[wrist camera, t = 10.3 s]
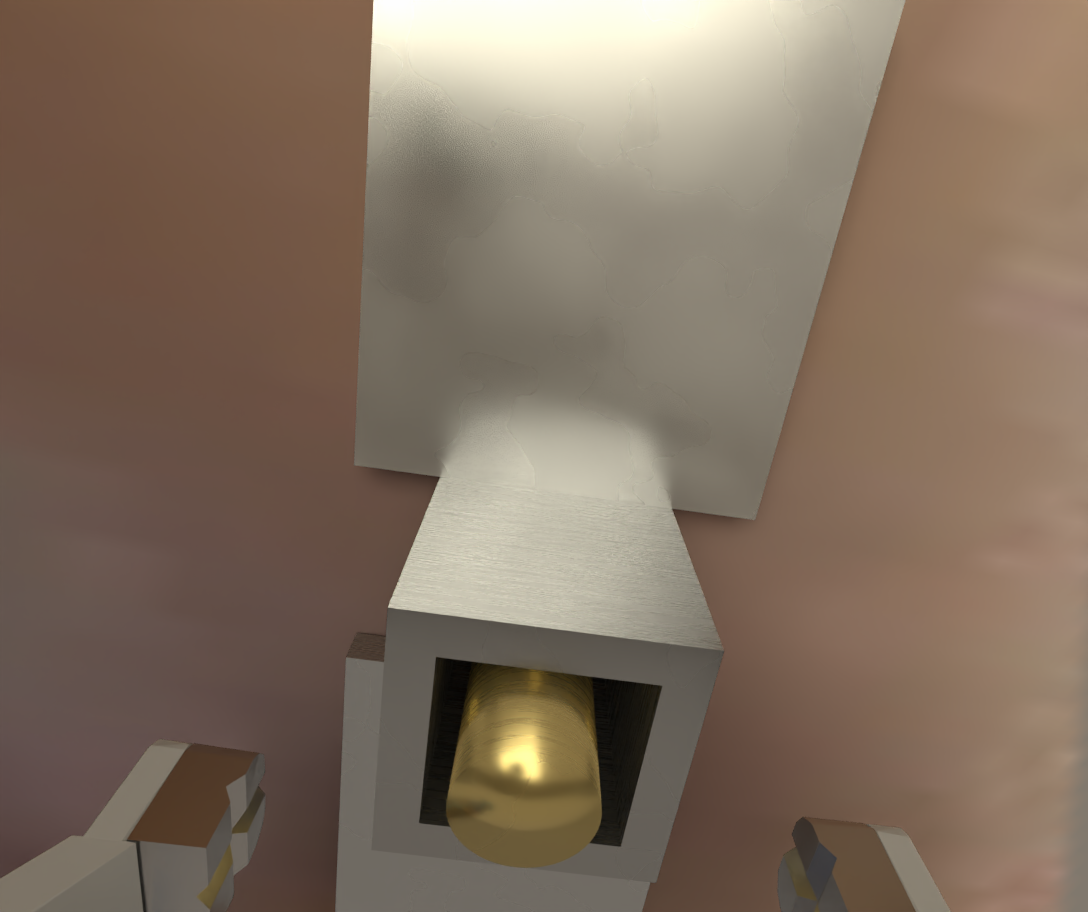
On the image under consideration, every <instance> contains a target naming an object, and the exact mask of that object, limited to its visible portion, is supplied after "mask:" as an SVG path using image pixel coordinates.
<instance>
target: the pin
mask: <svg viewBox="0 0 1088 912" xmlns="http://www.w3.org/2000/svg"><path fill="white" fill-rule="evenodd" d="M446 814H447V819H448V822H449V825H450V827H451V829H452V831H453V833H454V834H455V836H456V837H457V839H458V840H459V841H460V842H461V843H462V844H463V845H464V846H465V847H466V848H468V849H469V850H470V851H472V852H473V853H475V854H476V855H478V856H480V857H482V858H484V859H486V860H488V861H491V862H494V863H497V864H501V865H504V866H510V867H519V868H534V867H543V866H548V865H552V864H556V863H559V862H562V861H564V860H566V859H568V858H570V857H572V856H574V855H575V854H577V853H579V852H580V851H581V850H582V849H584V848H585V847H586V846H587V845H588V844H589V843H590V842H591V840H592V839H593V838H594V836H595V835H596V833H597V831H598V829H599V826H600V823H601V817H602V805H601V791H600V777H599V763H598V750H597V736H596V722H595V708H594V695H593V681H592V677H590V676H582V675H574V674H566V673H558V672H550V671H542V670H535V669H527V668H519V667H511V666H503V665H495V664H487V663H479V662H472V664H471V670H470V675H469V681H468V686H467V692H466V697H465V703H464V708H463V714H462V719H461V725H460V730H459V736H458V741H457V747H456V752H455V758H454V763H453V769H452V774H451V780H450V785H449V791H448V796H447V802H446Z"/></svg>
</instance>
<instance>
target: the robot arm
mask: <svg viewBox="0 0 1088 912" xmlns="http://www.w3.org/2000/svg"><path fill="white" fill-rule="evenodd" d="M264 773H265V763H264V755H263V754H261V753H256V752H249V751H243V750H236V749H229V748H222V747H215V746H209V745H202V744H195V743H194V744H192V743H185V742H178V741H170V740H163V739H159V740H158V741H156V742H155V743H154V744H152V745H151V746H150V747H148V749H147V750H146V751H145V753H144V754H143V755H142V757H141V758H140V759H139V761H138V762H137V764H136V765H135V766H134V768H133V769H132V770H131V772H130V773H129V774H128V776H127V777H126V779H125V780H124V781H123V783H122V784H121V785H120V787H119V788H118V789H117V791H116V792H115V794H114V795H113V796H112V798H111V799H110V800H109V802H108V803H107V804H106V806H105V807H104V808H103V810H102V811H101V813H100V814H99V815H98V817H97V818H96V819H95V821H94V822H93V823H92V825H91V826H90V828H89V829H88V830H87V832H86V833H85V834H84V836H74V835H72V836H70V837H68V838H67V839H65V840H63V841H62V842H60V843H58V844H57V845H55V846H54V847H52V848H50V849H49V850H47V851H45V852H44V853H42V854H40V855H39V856H37V857H35V858H34V859H32V860H30V861H29V862H27V863H25V864H24V865H22V866H20V867H19V868H17V869H15V870H14V871H12V872H10V873H9V874H7V875H5V876H4V877H2V878H0V912H226V911H227V909H228V907H229V905H230V903H231V900H232V898H233V896H234V875H235V874H236V873H237V872H239V871H240V870H241V869H243V868H244V867H245V866H247V865H248V863H249V861H250V859H251V856H252V854H253V852H254V849H255V847H256V845H257V841H258V838H259V835H260V831H261V828H262V825H263V819H264V812H265V793H264V792H263V791H262V790H261V789H260V787H259V786H258V785H259V783H260V781H261V779H262V777H263V775H264ZM792 837H793V839H794V842H795V845H796V847H795V848H793V849H792V850H790V851H789V852H787V853H786V854H784V855H783V858H782V861H781V864H780V867H779V870H778V897H779V903H780V908H781V912H951V911H950V909H949V907H948V906H947V904H946V902H945V900H944V898H943V897H942V895H941V893H940V891H939V890H938V888H937V886H936V884H935V882H934V881H933V879H932V877H931V875H930V873H929V872H928V870H927V868H926V866H925V864H924V863H923V861H922V859H921V857H920V855H919V854H918V852H917V850H916V848H915V846H914V845H913V843H912V841H911V839H910V837H909V836H908V834H907V833H905V832H904V831H903V830H902V829H901V828H898V827H889V826H880V825H871V824H866V825H865V824H863V823H856V822H847V821H837V820H828V819H819V818H809V817H802V818H801V819H800V820H798V821H797V822H796V825H795V827H794V829H793V832H792Z"/></svg>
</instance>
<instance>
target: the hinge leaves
mask: <svg viewBox="0 0 1088 912" xmlns="http://www.w3.org/2000/svg"><path fill="white" fill-rule="evenodd" d="M904 3H905V0H374V5H373V28H372V52H371V76H370V99H369V123H368V147H367V171H366V194H365V218H364V242H363V265H362V289H361V313H360V336H359V360H358V384H357V408H356V431H355V455H354V465H356V466H364V467H371V468H378V469H386V470H393V471H400V472H407V473H415V474H422V475H429V476H437V477H440V479H439V481H438V484H437V486H436V489H435V491H434V494H433V496H432V499H431V501H430V504H429V506H428V509H427V511H426V514H425V516H424V519H423V521H422V524H421V526H420V529H419V531H418V534H417V536H416V538H415V541H414V543H413V546H412V548H411V551H410V553H409V556H408V558H407V561H406V563H405V566H404V568H403V571H402V573H401V576H400V578H399V581H398V583H397V586H396V588H395V591H394V593H393V596H392V598H391V601H390V603H389V606H388V611H387V626H386V636H379V635H371V634H363V633H357V634H356V636H355V638H354V641H353V643H352V645H351V647H350V649H349V652H348V654H347V656H346V668H345V692H344V716H343V739H342V763H341V787H340V811H339V834H338V858H337V882H336V905H335V912H642V910H643V906H644V903H645V899H646V896H647V893H648V889H649V886H650V882H651V883H656V881H657V878H658V875H659V871H660V868H661V864H662V861H663V857H664V854H665V851H666V847H667V844H668V840H669V837H670V834H671V830H672V827H673V823H674V820H675V817H676V813H677V810H678V806H679V803H680V800H681V796H682V793H683V789H684V786H685V783H686V779H687V776H688V772H689V769H690V765H691V762H692V759H693V755H694V752H695V748H696V745H697V742H698V738H699V735H700V731H701V728H702V725H703V721H704V718H705V714H706V711H707V708H708V704H709V701H710V697H711V694H712V691H713V687H714V684H715V680H716V677H717V673H718V670H719V667H720V663H721V660H722V656H723V653H724V649H723V647H722V644H721V641H720V638H719V636H718V633H717V630H716V627H715V625H714V622H713V619H712V617H711V614H710V611H709V608H708V606H707V603H706V600H705V597H704V595H703V592H702V589H701V587H700V584H699V581H698V578H697V576H696V573H695V570H694V567H693V565H692V562H691V559H690V557H689V554H688V551H687V548H686V546H685V543H684V540H683V537H682V535H681V532H680V529H679V527H678V524H677V521H676V518H675V516H674V513H673V510H672V509H678V510H685V511H693V512H700V513H707V514H714V515H722V516H729V517H736V518H744V519H751V520H755V519H756V515H757V512H758V508H759V505H760V501H761V498H762V494H763V491H764V488H765V484H766V481H767V477H768V474H769V470H770V467H771V463H772V460H773V456H774V453H775V450H776V446H777V443H778V439H779V436H780V432H781V429H782V425H783V422H784V418H785V415H786V411H787V408H788V405H789V401H790V398H791V394H792V391H793V387H794V384H795V380H796V377H797V373H798V370H799V366H800V363H801V360H802V356H803V353H804V349H805V346H806V342H807V339H808V335H809V332H810V328H811V325H812V321H813V318H814V315H815V311H816V308H817V304H818V301H819V297H820V294H821V290H822V287H823V283H824V280H825V276H826V273H827V270H828V266H829V263H830V259H831V256H832V252H833V249H834V245H835V242H836V238H837V235H838V231H839V228H840V225H841V221H842V218H843V214H844V211H845V207H846V204H847V200H848V197H849V193H850V190H851V186H852V183H853V180H854V176H855V173H856V169H857V166H858V162H859V159H860V155H861V152H862V148H863V145H864V141H865V138H866V135H867V131H868V128H869V124H870V121H871V117H872V114H873V110H874V107H875V103H876V100H877V96H878V93H879V90H880V86H881V83H882V79H883V76H884V72H885V69H886V65H887V62H888V58H889V55H890V52H891V48H892V45H893V41H894V38H895V34H896V31H897V27H898V24H899V20H900V17H901V13H902V10H903V7H904ZM472 662H479V663H487V664H495V665H503V666H511V667H519V668H527V669H535V670H542V671H550V672H558V673H566V674H574V675H582V676H590V677H592V681H593V695H594V708H595V722H596V736H597V750H598V763H599V777H600V791H601V805H602V817H601V823H600V826H599V829H598V831H597V833H596V835H595V836H594V838H593V839H592V840H591V842H590V843H589V844H588V845H587V846H586V847H585V848H584V849H582V850H581V851H580V852H579V853H577V854H575V855H574V856H572V857H570V858H568V859H566V860H564V861H562V862H559V863H556V864H552V865H548V866H543V867H534V868H519V867H510V866H504V865H501V864H497V863H494V862H491V861H488V860H486V859H484V858H482V857H480V856H478V855H476V854H475V853H473V852H472V851H470V850H469V849H468V848H466V847H465V846H464V845H463V844H462V843H461V842H460V841H459V840H458V839H457V837H456V836H455V834H454V833H453V831H452V829H451V827H450V825H449V822H448V819H447V814H446V802H447V796H448V791H449V785H450V780H451V774H452V769H453V763H454V758H455V752H456V747H457V741H458V736H459V730H460V725H461V719H462V714H463V708H464V703H465V697H466V692H467V686H468V681H469V675H470V670H471V664H472Z"/></svg>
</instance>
